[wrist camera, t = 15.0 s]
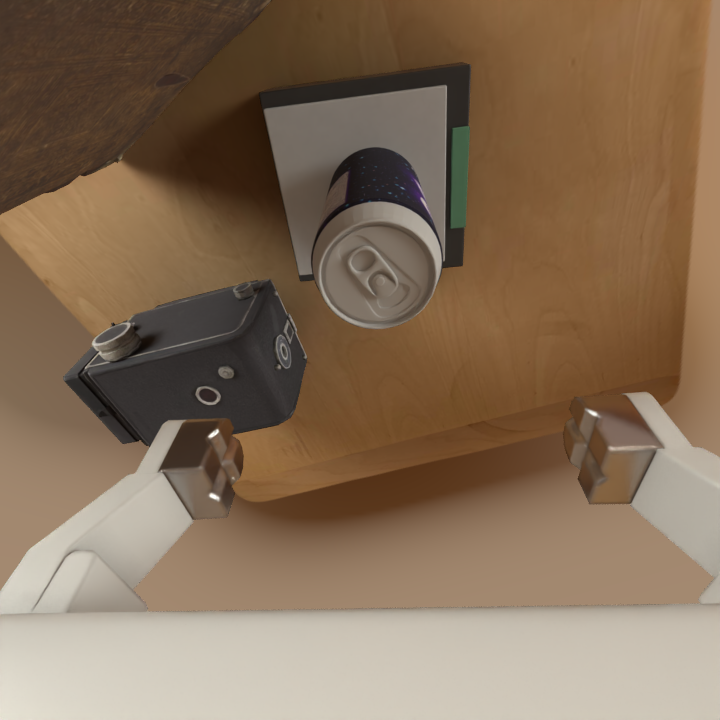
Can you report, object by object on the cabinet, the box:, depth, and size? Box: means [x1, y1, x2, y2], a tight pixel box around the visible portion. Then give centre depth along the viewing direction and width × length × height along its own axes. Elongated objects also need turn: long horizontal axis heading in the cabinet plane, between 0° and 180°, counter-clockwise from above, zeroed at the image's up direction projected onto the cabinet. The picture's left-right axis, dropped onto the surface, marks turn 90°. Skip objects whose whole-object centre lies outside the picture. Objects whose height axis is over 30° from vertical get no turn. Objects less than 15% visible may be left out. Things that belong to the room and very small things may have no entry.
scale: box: [259, 62, 471, 281], centre depth 28 cm, size 12×12×3 cm
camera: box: [63, 279, 307, 447], centre depth 32 cm, size 11×11×15 cm
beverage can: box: [311, 147, 443, 329], centre depth 22 cm, size 6×6×12 cm
